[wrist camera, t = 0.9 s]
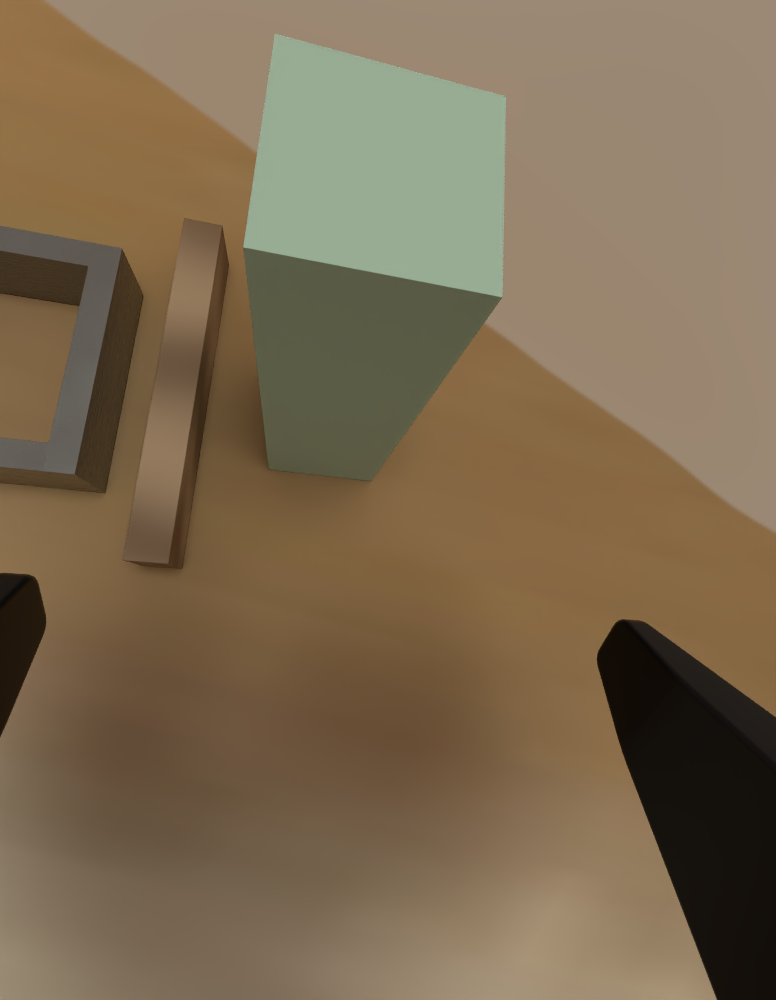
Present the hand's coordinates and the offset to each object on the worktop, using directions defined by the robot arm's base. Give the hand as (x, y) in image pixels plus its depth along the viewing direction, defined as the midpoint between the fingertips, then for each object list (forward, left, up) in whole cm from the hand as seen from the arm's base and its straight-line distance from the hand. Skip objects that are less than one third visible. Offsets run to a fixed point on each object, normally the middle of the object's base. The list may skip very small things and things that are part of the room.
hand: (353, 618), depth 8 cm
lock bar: (+8, 0, -13) cm, 16 cm away
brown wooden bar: (+8, +6, -13) cm, 17 cm away
